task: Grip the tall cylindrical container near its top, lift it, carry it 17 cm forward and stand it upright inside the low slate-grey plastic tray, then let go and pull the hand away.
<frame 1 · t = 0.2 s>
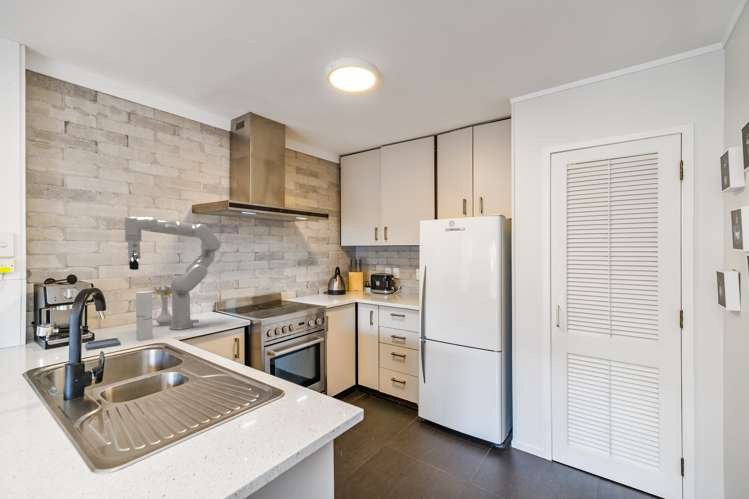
hand: (133, 269, 190), 37 cm above the counter, tool pointing down, fingers open, 9 cm apart
slate tray: (103, 345, 170), on the counter
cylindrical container: (144, 338, 182), on the counter
flower vase: (164, 325, 216), on the counter
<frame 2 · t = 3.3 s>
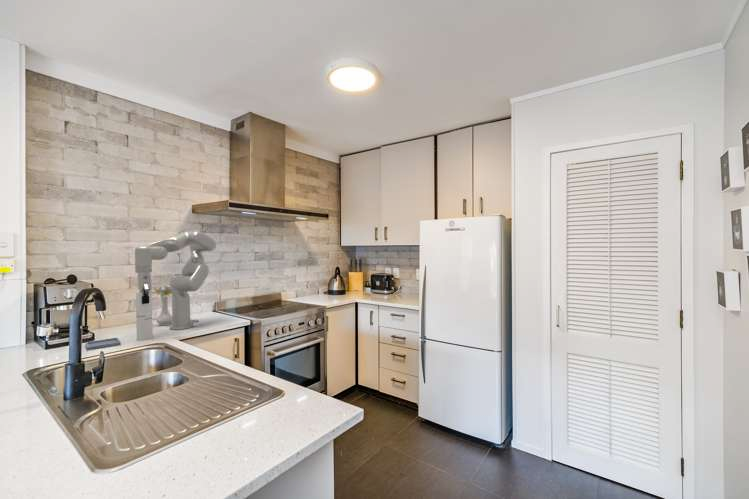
hand: (144, 302, 182), 19 cm above the counter, tool pointing down, fingers closed on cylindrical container, 7 cm apart
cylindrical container: (144, 338, 182), on the counter, touching gripper
everything else where it was.
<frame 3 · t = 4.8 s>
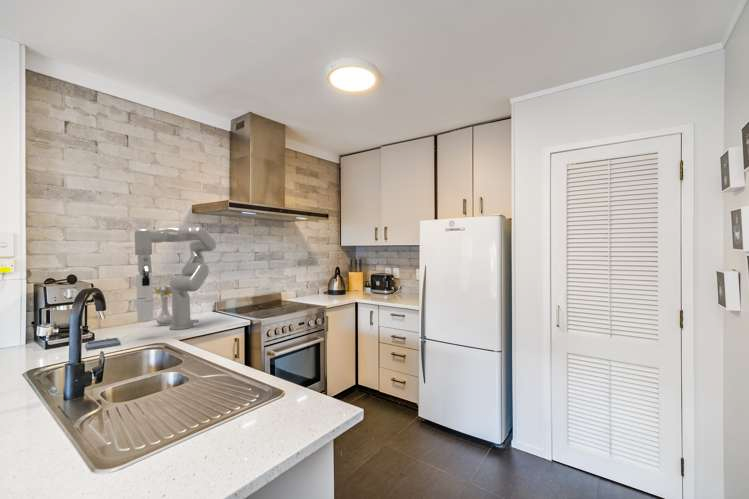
hand: (144, 284, 182), 29 cm above the counter, tool pointing down, fingers closed on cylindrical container, 7 cm apart
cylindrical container: (145, 321, 183), point 9 cm above the counter, touching gripper
everything else where it was.
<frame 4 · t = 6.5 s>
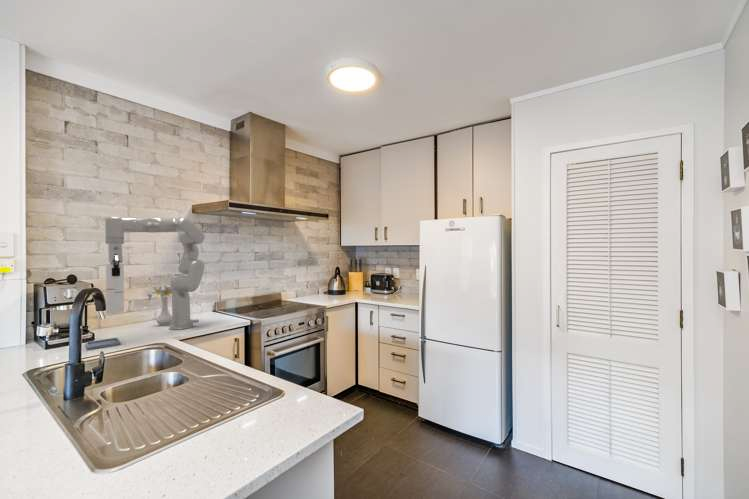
hand: (114, 275, 174), 35 cm above the counter, tool pointing down, fingers closed on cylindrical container, 7 cm apart
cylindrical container: (115, 313, 173), point 15 cm above the counter, touching gripper
everything else where it was.
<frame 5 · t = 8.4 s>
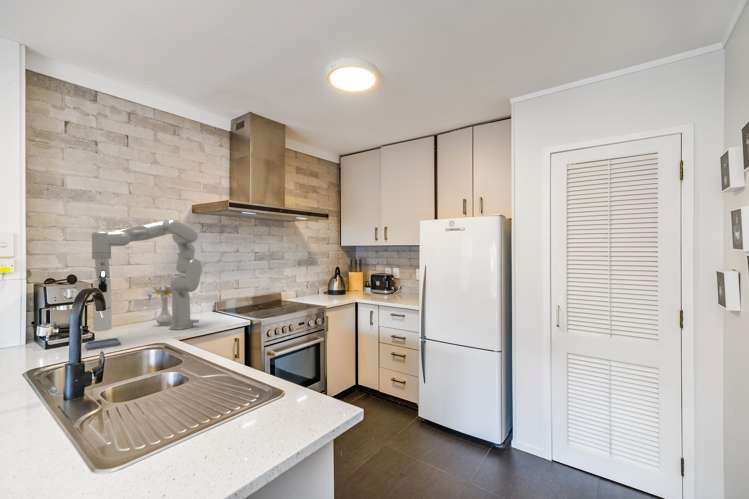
hand: (102, 291, 170), 27 cm above the counter, tool pointing down, fingers closed on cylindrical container, 7 cm apart
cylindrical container: (102, 330, 170), point 8 cm above the counter, touching gripper
everything else where it was.
when the fingers open (21 cm above the counter, at t = 10.1 s): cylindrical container stays where it is, resting on slate tray.
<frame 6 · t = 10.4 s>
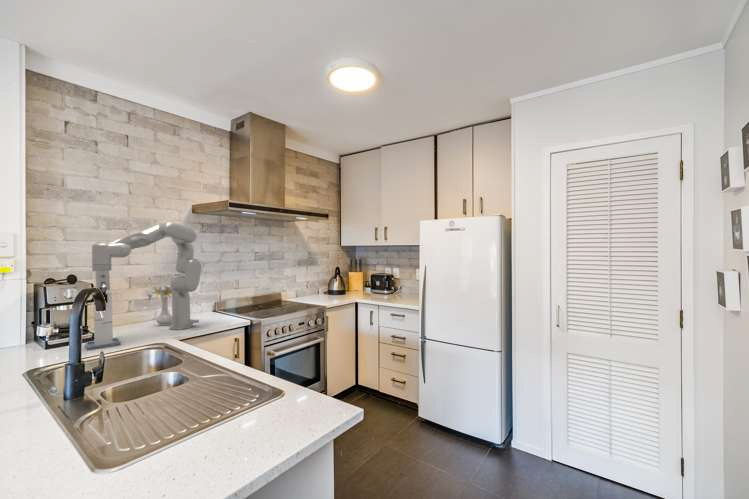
hand: (102, 302, 170), 22 cm above the counter, tool pointing down, fingers open, 9 cm apart
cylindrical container: (103, 344, 170), resting on slate tray
everything else where it was.
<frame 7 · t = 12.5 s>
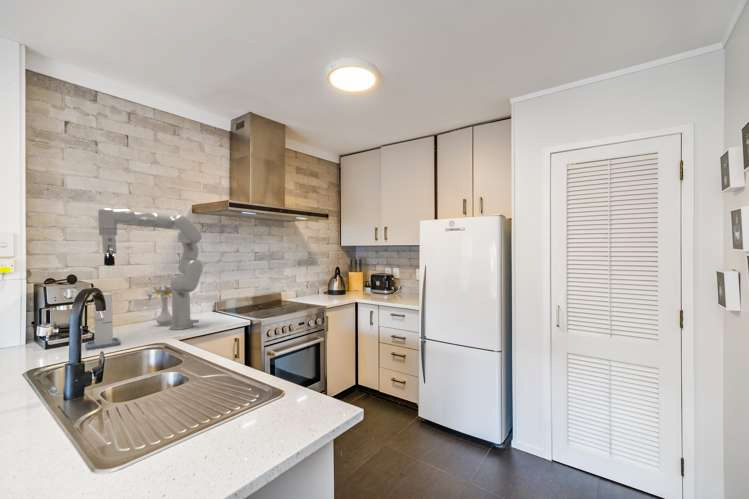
hand: (109, 265, 177), 40 cm above the counter, tool pointing down, fingers open, 9 cm apart
nothing on the counter moved.
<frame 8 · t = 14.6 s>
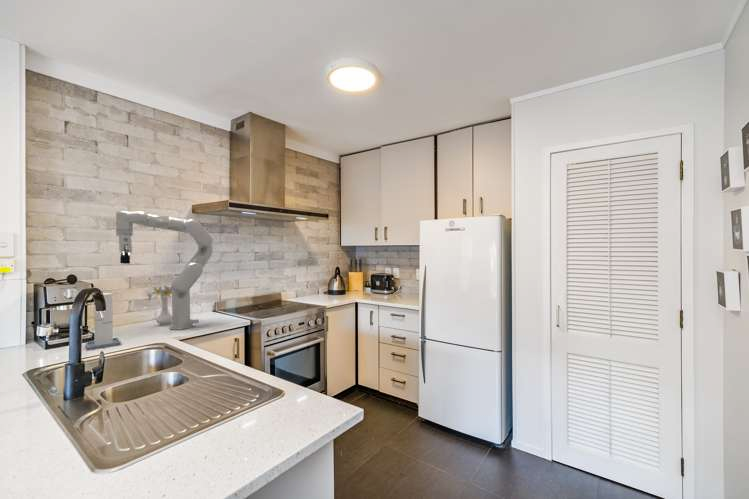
hand: (125, 263, 192), 40 cm above the counter, tool pointing down, fingers open, 9 cm apart
nothing on the counter moved.
at the end: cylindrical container inside the target area on the slate tray (0.3 cm from its centre), point 0.4 cm above the slate tray's base; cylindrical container tilted 0°; the gripper is holding nothing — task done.
